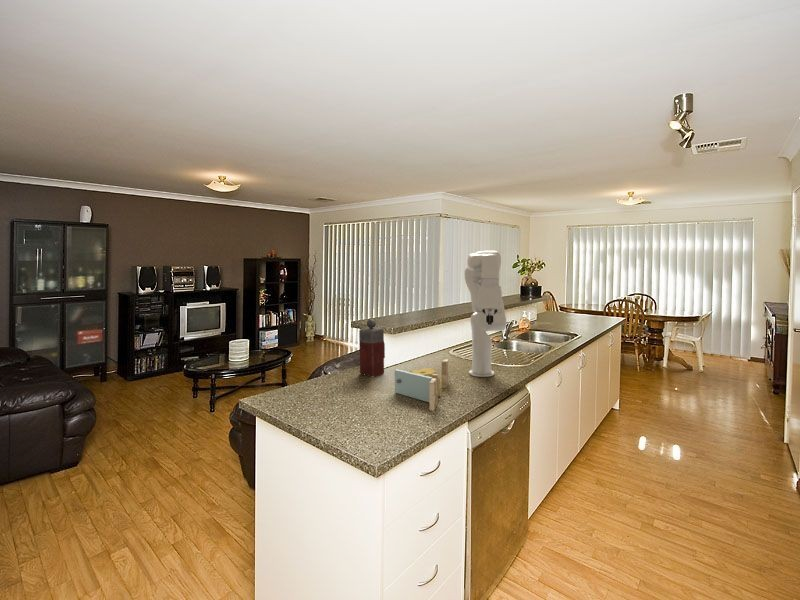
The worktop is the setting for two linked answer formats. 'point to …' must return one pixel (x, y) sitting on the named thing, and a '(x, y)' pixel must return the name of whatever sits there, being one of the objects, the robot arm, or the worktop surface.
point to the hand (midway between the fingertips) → (489, 324)
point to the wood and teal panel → (435, 384)
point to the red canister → (371, 349)
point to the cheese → (429, 373)
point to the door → (412, 385)
